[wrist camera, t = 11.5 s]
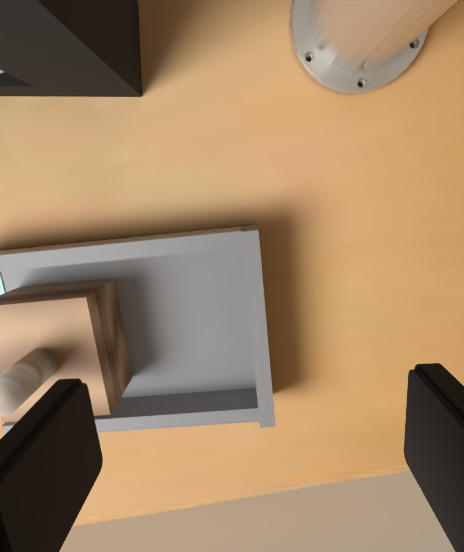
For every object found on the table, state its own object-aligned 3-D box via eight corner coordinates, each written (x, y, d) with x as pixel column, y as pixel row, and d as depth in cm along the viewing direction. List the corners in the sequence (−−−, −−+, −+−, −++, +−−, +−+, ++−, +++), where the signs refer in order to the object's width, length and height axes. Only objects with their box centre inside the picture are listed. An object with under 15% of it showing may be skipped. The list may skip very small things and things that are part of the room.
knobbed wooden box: (16, 286, 39) (-93, 332, 27) (114, 277, 38) (51, 319, 26) (41, 385, 42) (-47, 469, 29) (133, 378, 41) (84, 461, 29)
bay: (-11, 251, 40) (-55, 261, 34) (256, 224, 38) (258, 230, 32) (31, 411, 44) (-1, 445, 38) (271, 394, 42) (275, 426, 37)
